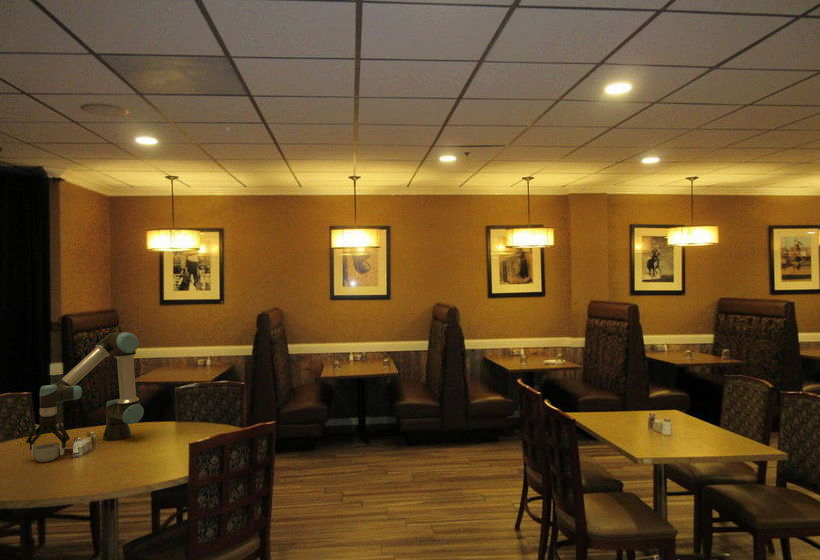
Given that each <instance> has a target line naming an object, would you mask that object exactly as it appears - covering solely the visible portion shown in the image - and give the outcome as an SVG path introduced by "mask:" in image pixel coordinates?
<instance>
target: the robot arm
mask: <svg viewBox="0 0 820 560" xmlns="http://www.w3.org/2000/svg"><path fill="white" fill-rule="evenodd" d="M139 345H140V343H139V338H138V337H137V336H136V335H135V334H134V333H132V332H128V331H125V332H123V331H121V332H120V331H114V332H111V333H109V334H107V335H106V336H104V338H102V339H101V340H100V341H98V343H97V344H95V348H94V349H93V350H91V352H90V353H88V354H87V355H86V356H85V357H84V358H83V359H81V360H80V362H79V363H78V364H76V365H75V366H74V367H73V368H71V370H69V371H68V372H67V374H64V376H63V377H62V378H61V379H60V380H59V381H57V382H56V383H52V384H48V385H42V386H41V387H40V388H39V389H40V390H39V415H40V416H39V424H37V423H36V424H33V425H32V430H31V431H30V433H29V435H28V437H27V438H26V440H25V444H29V450H30V451H31V458H32V457H34V458H35V450H34V448H35V447H36V446H37V442H36V441H37V440H38V439H39V437H41V435H42V434H47V433H48V434H51V433H52V434H53V435H54V436H55V437H56V438H57V439H58V440H59V441H60V442H59V448H60V455H59V456H64V455H63V454H64V448H65V447H67V446H66V444H67V442H68V441H70V440H71V438H70V436H69V433H68V432H67V430H66V429H65V425H64V422H61V423H58V422H57V419H58V417H57V416H58V415H57V413H58V407H57V406H58V403H61V402H62V403H63V402H67V401H76V400H79V399H80V398H81V397H82V396H83V390H82V387H81V386H80V385H77V384H78V383H80V381H81V380H83V378H84V377H85V376H86V375H87V374H89V373H90V372H91V371H92V370H93V369H94V368H95V367H97V365H98V364H99V363H101V362H102V361H103V360H104V359H105V358H106V357H110V356H111V355H112V354H113V357H114V358H115V359H116V360H117V361H116V363H117V374H118V375H117V376H118V377H117V378H118V389H119V398H117V399H116V398H115V399H112V400H108V401H106V407H105V408H106V409H105V410H106V412H105V415H106V417H105V418H106V419H105V420H106V424H105V428H104V432H103V434H102V440H103V441H110V442H111V441H119V440H125V439H128V438H130V437H132V431H131V428H130V425H133V424H136V423H138V422H140V421H141V419H142V418H143V417H144V412H145V410H144V407H143V406H142V405H141V403H140V398H139V397H137V391H136V390H137V389H136V377H135V360H134V357H135V356H136V354H137V349H138V348H139ZM57 428H58V429H57ZM38 429H39V431H38V432H37V430H38ZM59 431H60V432H59ZM36 432H37V433H36ZM35 433H36V435H35ZM34 435H35V436H34Z"/></svg>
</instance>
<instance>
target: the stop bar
mask: <svg viewBox="0 0 820 560" xmlns="http://www.w3.org/2000/svg"><path fill="white" fill-rule="evenodd" d="M73 447H74V446H70V447H69V446H66V447H65V448H64V454H63V455H62V456H67V455H73V454H72V453H73ZM58 456H61V455H60V447H59V454H58Z"/></svg>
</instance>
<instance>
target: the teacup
mask: <svg viewBox="0 0 820 560" xmlns="http://www.w3.org/2000/svg"><path fill="white" fill-rule="evenodd" d="M59 448H60V442H59V443H58V441H56V442H55V441H54V442H50V443H49V442H47V443H44V444H41V445H40V444H39V445H36V447H35V448H34V450H35V456H34V458H35V460H36V461H38V463H39V462H40V463H47V462H51V461H54V460H55V459H56V458H57V457H59V455H58V454H59Z"/></svg>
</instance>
